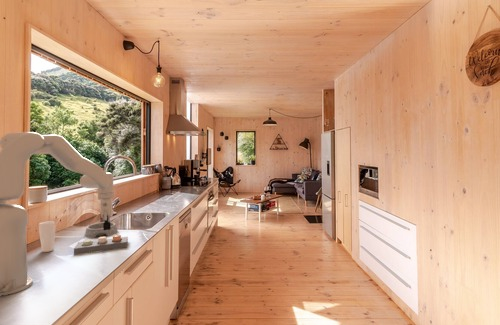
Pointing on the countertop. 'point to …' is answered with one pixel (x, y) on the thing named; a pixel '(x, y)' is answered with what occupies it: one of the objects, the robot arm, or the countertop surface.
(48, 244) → the drinking glass
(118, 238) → the terracotta button
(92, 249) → the button panel
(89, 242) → the sage button
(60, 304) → the countertop surface
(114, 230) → the dog bowl
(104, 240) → the cream button
